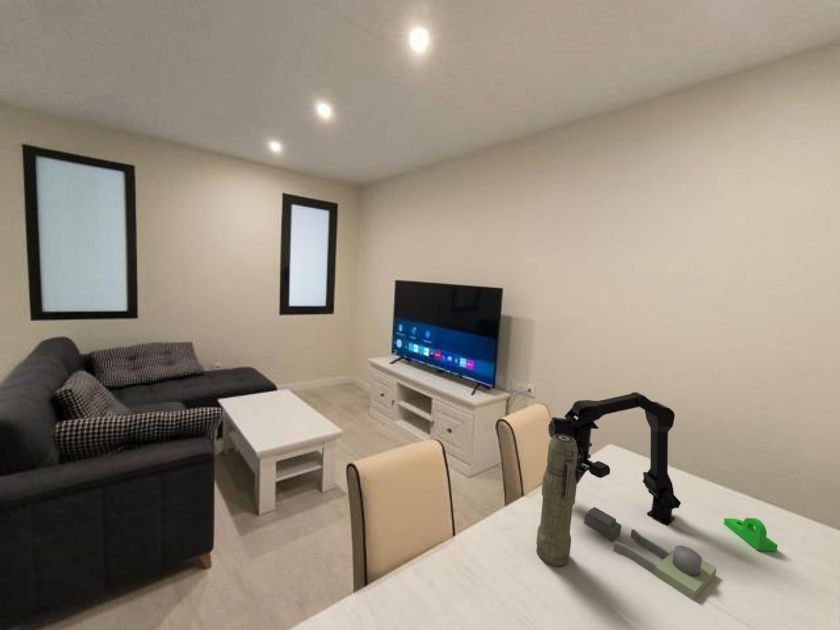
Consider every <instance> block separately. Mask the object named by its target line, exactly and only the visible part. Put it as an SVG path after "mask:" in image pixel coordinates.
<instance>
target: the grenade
mask: <svg viewBox="0 0 840 630" xmlns="http://www.w3.org/2000/svg"><path fill="white" fill-rule="evenodd" d="M550 438H551V437H550ZM547 447H548V449H547V458H546V463H547V464H546V466H545V467H546V468H545V471H544V473H543V475H542V484H541V495H542V503H541V504H542V505H541V513H540V523H539V525H538V527H537V535H536V551H535V552H536V555H537V557H538V558H539V559H540V561H542V562H543V563H545V564H546V565H548V566H550V567H554V568H556V569H557V568H564V567H566V566H567V565H568V564H569V557H570V553H571V544H572V537H571V525H572V515H573V507H574V505H575V503H576V496H577V487H578V486H577V485H578V484H577V482H576V478H575V473H576V472H575V471H576V464H577V455H578V449H577V445H576V441H575V440H574V439H573V438H572V437H570V436H567V435H564V434H557V435H554V436H552V438H551V439H550V441H549V443H548V446H547Z"/></svg>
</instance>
